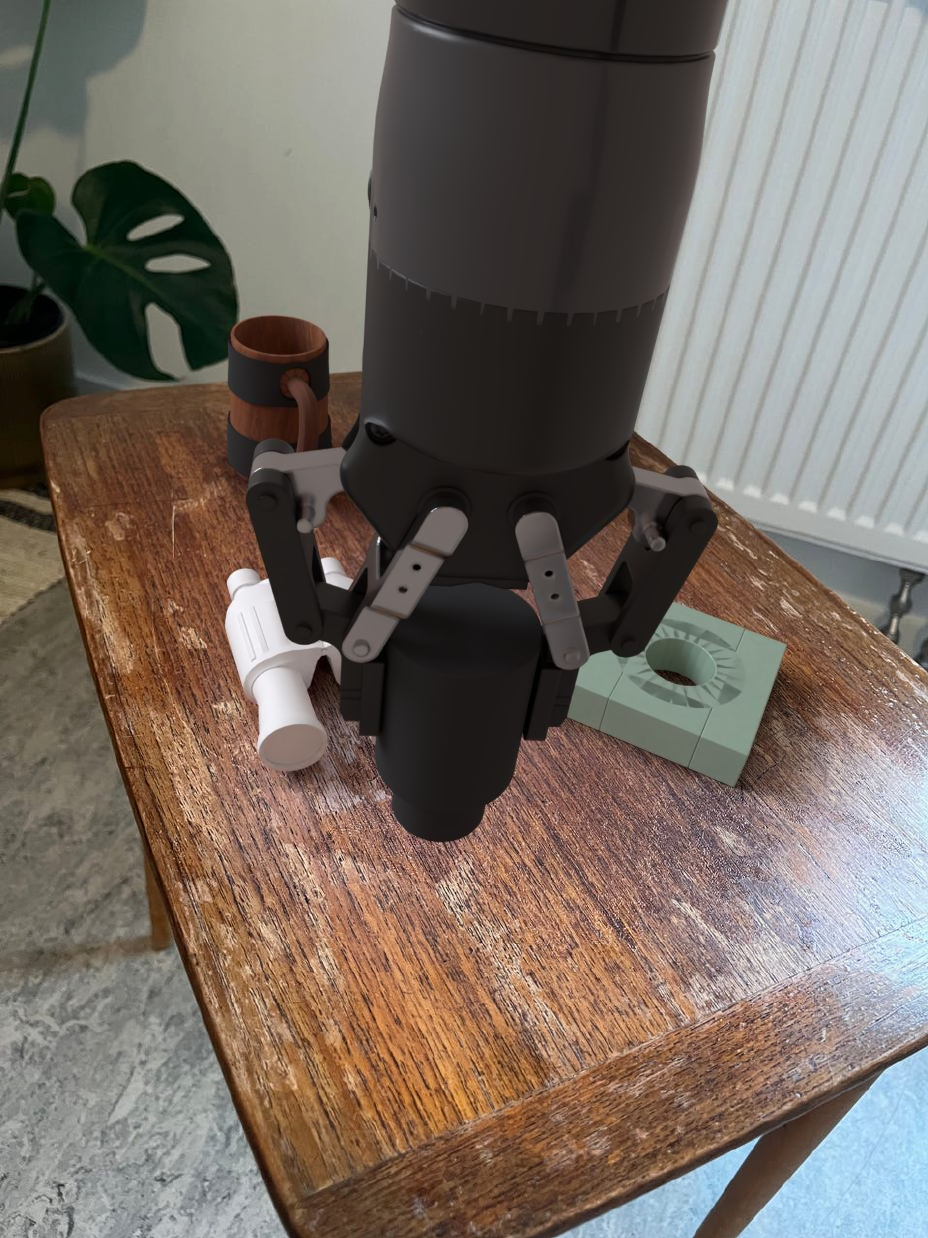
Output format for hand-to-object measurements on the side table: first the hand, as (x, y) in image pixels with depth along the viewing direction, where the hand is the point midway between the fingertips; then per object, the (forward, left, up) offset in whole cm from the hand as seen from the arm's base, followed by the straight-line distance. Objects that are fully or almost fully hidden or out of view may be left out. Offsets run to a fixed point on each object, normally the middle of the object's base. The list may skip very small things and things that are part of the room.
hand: (451, 720), depth 34 cm
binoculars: (+16, -17, -20) cm, 30 cm away
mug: (+31, -36, -20) cm, 51 cm away
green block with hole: (-5, -28, -19) cm, 34 cm away
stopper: (0, 0, -5) cm, 5 cm away
